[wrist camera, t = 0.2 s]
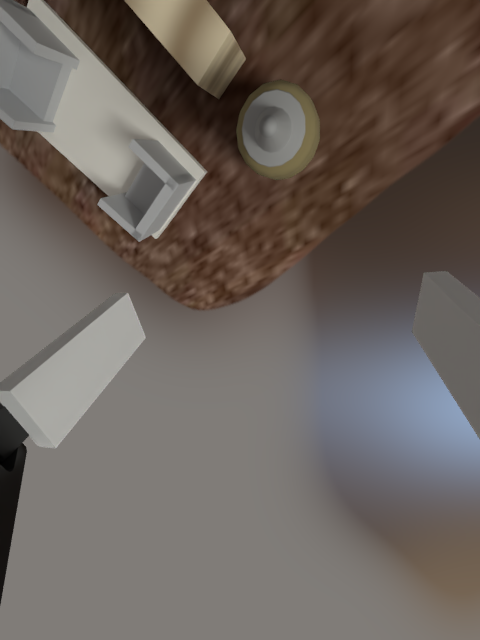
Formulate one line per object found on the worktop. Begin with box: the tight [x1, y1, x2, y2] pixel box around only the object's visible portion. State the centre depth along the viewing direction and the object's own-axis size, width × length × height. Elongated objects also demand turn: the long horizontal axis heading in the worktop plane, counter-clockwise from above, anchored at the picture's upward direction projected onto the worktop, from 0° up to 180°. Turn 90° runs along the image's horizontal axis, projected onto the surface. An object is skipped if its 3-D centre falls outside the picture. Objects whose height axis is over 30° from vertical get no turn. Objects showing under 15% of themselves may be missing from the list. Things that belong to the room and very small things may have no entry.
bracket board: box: [0, 0, 207, 242], centre depth 32 cm, size 24×12×7 cm, turn 47°
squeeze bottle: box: [236, 80, 320, 180], centre depth 24 cm, size 8×8×18 cm
